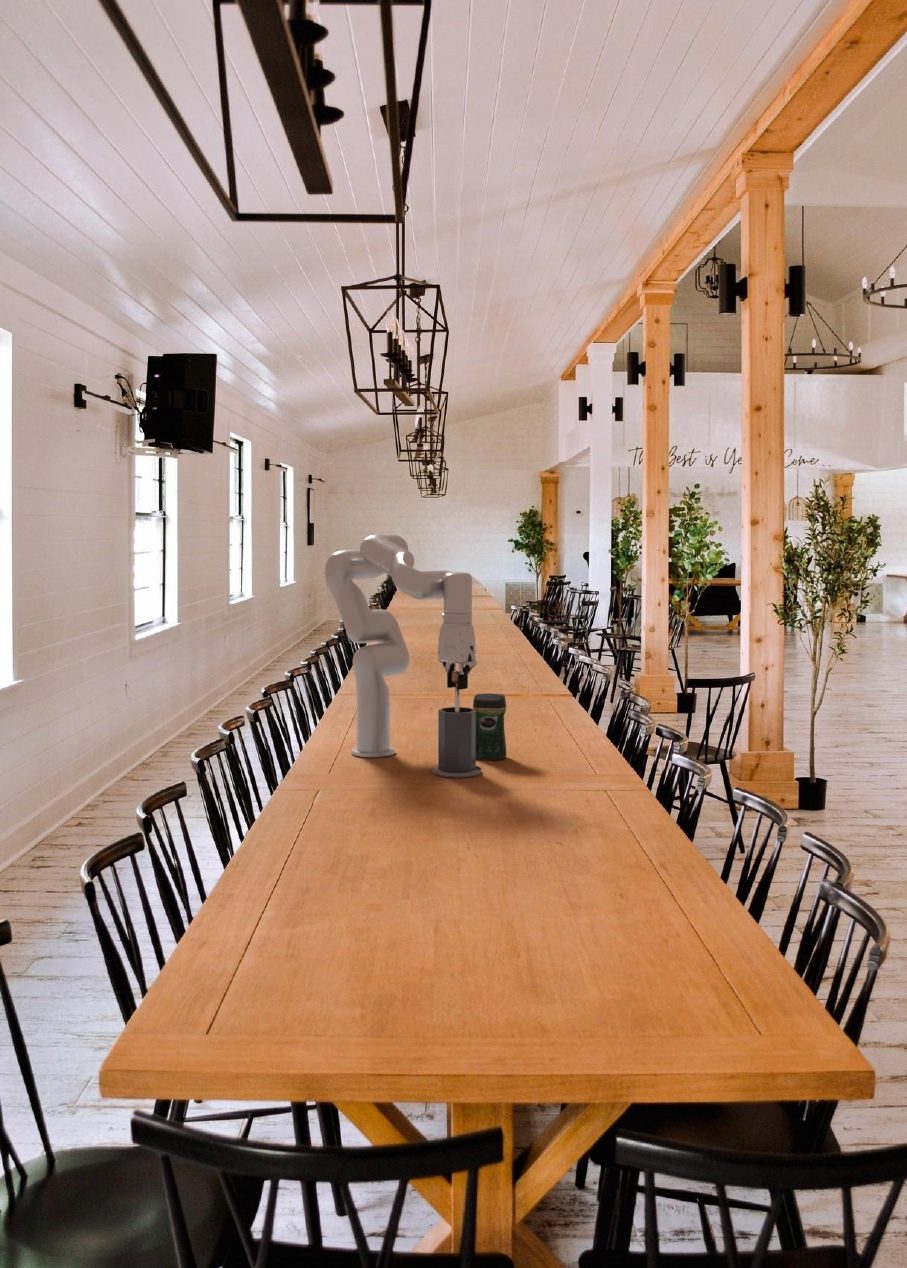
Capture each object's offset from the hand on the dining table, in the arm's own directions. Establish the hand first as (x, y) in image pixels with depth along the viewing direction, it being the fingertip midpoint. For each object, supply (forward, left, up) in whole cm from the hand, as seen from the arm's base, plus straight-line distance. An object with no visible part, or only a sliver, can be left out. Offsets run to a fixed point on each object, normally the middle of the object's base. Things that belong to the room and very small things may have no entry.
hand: (457, 687), depth 276 cm
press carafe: (0, 0, -23) cm, 23 cm away
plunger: (0, 0, -18) cm, 18 cm away
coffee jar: (-12, +16, -23) cm, 31 cm away
